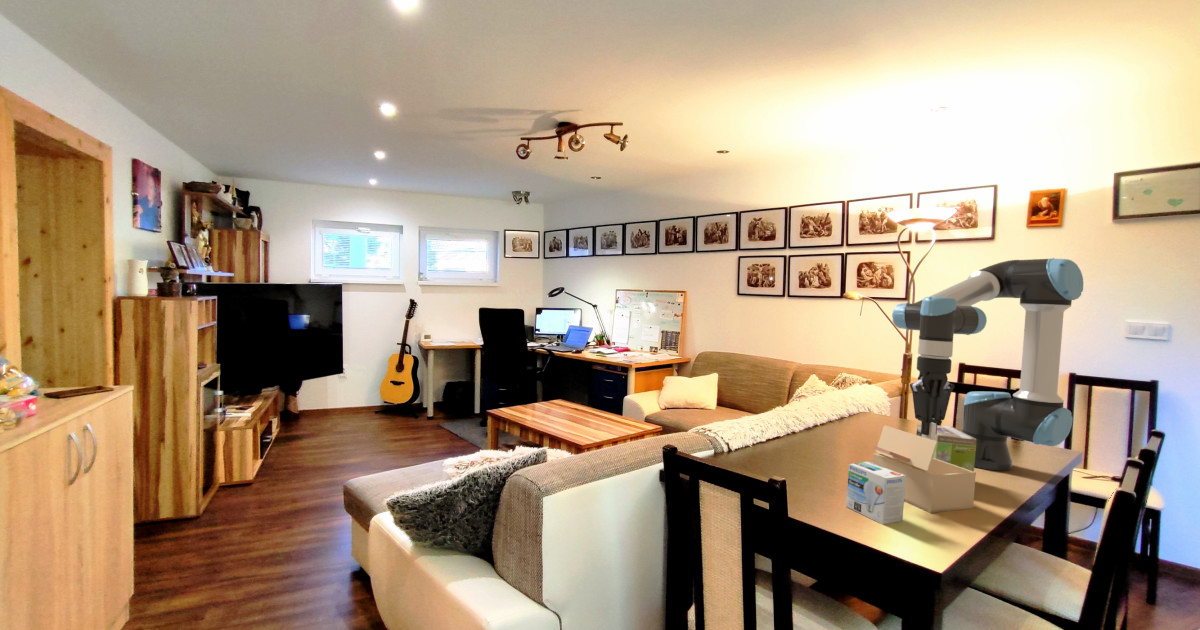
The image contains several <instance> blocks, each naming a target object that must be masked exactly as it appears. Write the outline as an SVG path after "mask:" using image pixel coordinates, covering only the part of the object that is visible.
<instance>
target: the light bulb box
mask: <svg viewBox="0 0 1200 630" xmlns="http://www.w3.org/2000/svg"><path fill="white" fill-rule="evenodd" d="M847 474H848V475H847V485H846V486H847V487H846V488H847V490H846V499H845V501H846V502H845V507H846V508H848V509H850V510H852V511H854V512H856V513H858V514H861V515H863V516H865V517H866V518H869V519H871V520H872V521H874V520H875V521H874V522H877V523H879V524H881V525H887V524H893V523H897V522H899V523H900V522H903V521H904V508H905V507H904V506H905V501H904V495H905V483H906V475H903V474H900V473H897V472H895V471H892V470H889V469H886V468H884V467H881V466H878V465H875V464H873V462H870V461H862V462H855V463H849V464H848V473H847Z"/></svg>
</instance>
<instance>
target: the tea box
mask: <svg viewBox="0 0 1200 630" xmlns="http://www.w3.org/2000/svg"><path fill="white" fill-rule="evenodd" d="M921 424H922V423H917V424H916V425H917V426H916V433H915V435H918V436H921V437H922V434H921ZM935 441H937V442H938V443H937V446H936V450H935V453H934V456H933V458H935V459H938V460H941V461H944V462H947V463H950V464H953V465H956V466H959V467H962V468H965V469H967V470H970V471H973V472H975V467H974V462H975V451H976V439H975V438H973V437H971V436H969V435H967V434H965V433H964V432H962V431H961V430H960V429H957V428H955V427H954V426H949V425H946V426H945V425H940V424H939V425H938V424H937V433H936V436H935Z"/></svg>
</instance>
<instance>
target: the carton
mask: <svg viewBox="0 0 1200 630" xmlns="http://www.w3.org/2000/svg"><path fill="white" fill-rule="evenodd" d="M872 463H873V464H875V465H878V466H881V467H884V468H886V469H889V470H892V471H895V472H897V473H900V474H903V475H906V483H905V495H904V503H908V504H910V505H911V506H914V507H916V508H919V509H921V510H923V511H925V512H928V513H930V514H933V513H943V512H950V511H951V512H953V511H960V510H968V509H969V510H970V509H974V502H975V501H974V500H975V489H976V487H975V485H976V475H977V472H976V471H974V472H973V471H970V470H967V469H965V468H962V467H959V466H956V465H953V464H950V463H947V462H944V461H941V460H938V459H935V458H933V459H932V462H931V465H930V468H929V471H926V470H923V469H921V468H918V467H915V466H913V465H910V464H907V463H904V462H902V461H899V460H896V459H894V458H891V457H888V456H886V455H883V454H880V453H878V452H874V453H873V454H872Z"/></svg>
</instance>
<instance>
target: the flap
mask: <svg viewBox="0 0 1200 630" xmlns="http://www.w3.org/2000/svg"><path fill="white" fill-rule="evenodd" d="M937 443H938V442H937V441H934V440H931V439H928V438H924V437H921V436H918V435H916V433H915V434H914V433H911V432H907V431H904V430H901V429H897V428H895V427H891V426H888V425H883V428H882V431H881V433H880V436H879V440H878V443H877V446H876V445H873V446H872V449H873V450H875V453H880V454H883V455H886V456H888V457H891V458H894V459H896V460H899V461H902V462H904V463H907V464H910V465H913V466H915V467H918V468H921V469H923V470H926V471H929V468H930V465H931V462H932V459H933V456H934V453H935V450H936V446H937Z"/></svg>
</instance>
